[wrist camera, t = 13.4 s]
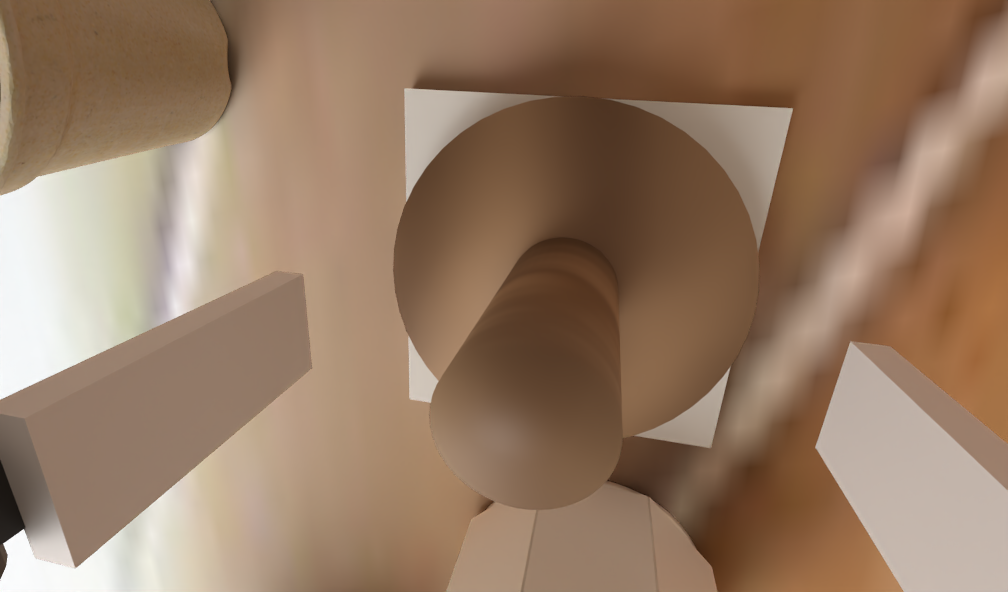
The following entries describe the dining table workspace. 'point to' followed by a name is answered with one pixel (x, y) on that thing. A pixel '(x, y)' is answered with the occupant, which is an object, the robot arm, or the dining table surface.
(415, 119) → the mat
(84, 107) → the flower pot
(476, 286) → the lid
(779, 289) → the dining table surface
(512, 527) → the bowl
